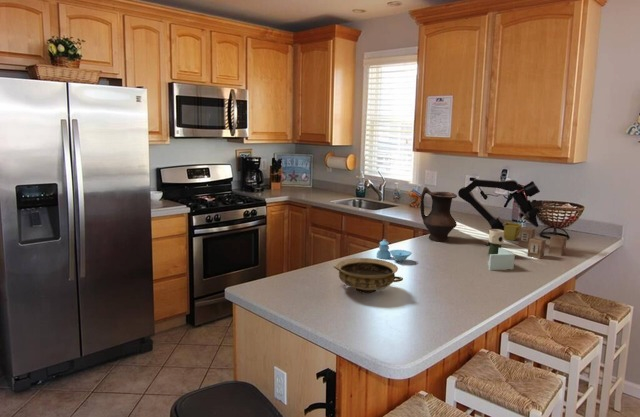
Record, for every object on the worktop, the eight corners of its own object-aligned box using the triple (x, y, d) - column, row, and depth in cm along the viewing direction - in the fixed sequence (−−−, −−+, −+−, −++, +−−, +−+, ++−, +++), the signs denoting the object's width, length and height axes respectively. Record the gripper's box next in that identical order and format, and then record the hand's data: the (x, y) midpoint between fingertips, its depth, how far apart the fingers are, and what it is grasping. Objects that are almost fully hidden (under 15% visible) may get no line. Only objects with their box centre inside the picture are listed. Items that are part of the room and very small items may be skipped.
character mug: (497, 258, 242) (499, 233, 239) (483, 256, 246) (485, 230, 244) (505, 254, 250) (507, 230, 248) (491, 252, 254) (494, 227, 252)
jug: (452, 236, 287) (456, 186, 282) (458, 244, 269) (462, 190, 264) (416, 234, 289) (419, 184, 284) (419, 242, 271) (422, 188, 266)
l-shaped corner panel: (498, 262, 236) (500, 247, 235) (513, 270, 225) (514, 254, 223) (476, 263, 234) (477, 248, 233) (489, 270, 222) (491, 255, 221)
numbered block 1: (529, 246, 269) (530, 230, 268) (518, 244, 273) (520, 228, 272) (533, 244, 274) (535, 228, 272) (523, 242, 278) (524, 227, 276)
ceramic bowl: (414, 290, 192) (415, 266, 190) (385, 308, 173) (387, 281, 171) (349, 275, 209) (350, 252, 207) (316, 289, 190) (317, 265, 188)
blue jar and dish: (415, 261, 233) (416, 243, 231) (403, 266, 225) (404, 247, 224) (383, 254, 245) (384, 236, 243) (371, 258, 237) (372, 240, 235)
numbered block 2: (539, 259, 243) (541, 241, 242) (527, 256, 248) (528, 239, 246) (543, 256, 248) (545, 239, 246) (532, 254, 252) (533, 237, 251)
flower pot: (516, 242, 278) (517, 226, 277) (500, 239, 284) (501, 224, 282) (520, 239, 285) (521, 224, 284) (505, 236, 291) (506, 222, 289)
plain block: (560, 255, 251) (562, 238, 250) (548, 253, 255) (550, 236, 254) (564, 253, 255) (566, 237, 254) (553, 251, 260) (554, 235, 258)
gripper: (541, 192, 250) (557, 218, 248) (530, 194, 268) (545, 219, 267) (521, 203, 251) (537, 229, 249) (512, 205, 269) (527, 229, 267)
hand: (537, 226), depth 258 cm, fingers closed
